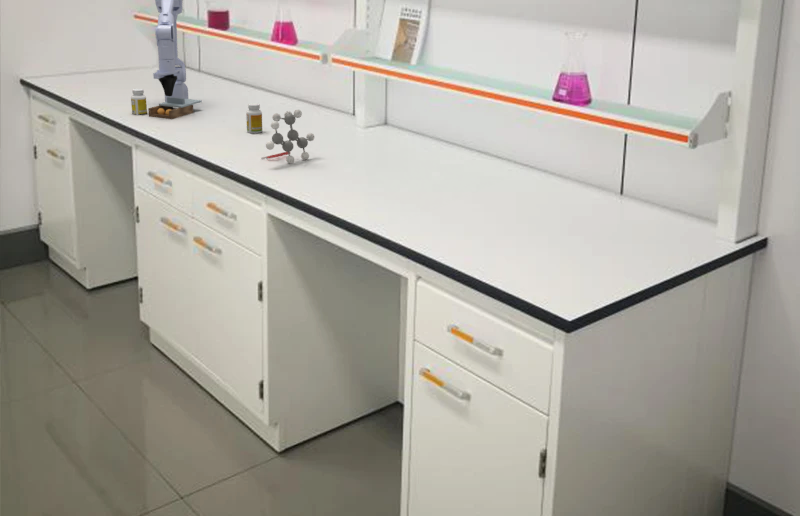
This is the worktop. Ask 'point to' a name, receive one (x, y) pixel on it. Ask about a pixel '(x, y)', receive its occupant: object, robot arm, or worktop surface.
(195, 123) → the worktop surface
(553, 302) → the worktop surface
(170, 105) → the lid
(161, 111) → the ball
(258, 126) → the supplement bottle
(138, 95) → the supplement bottle
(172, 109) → the case
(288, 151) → the molecule model
